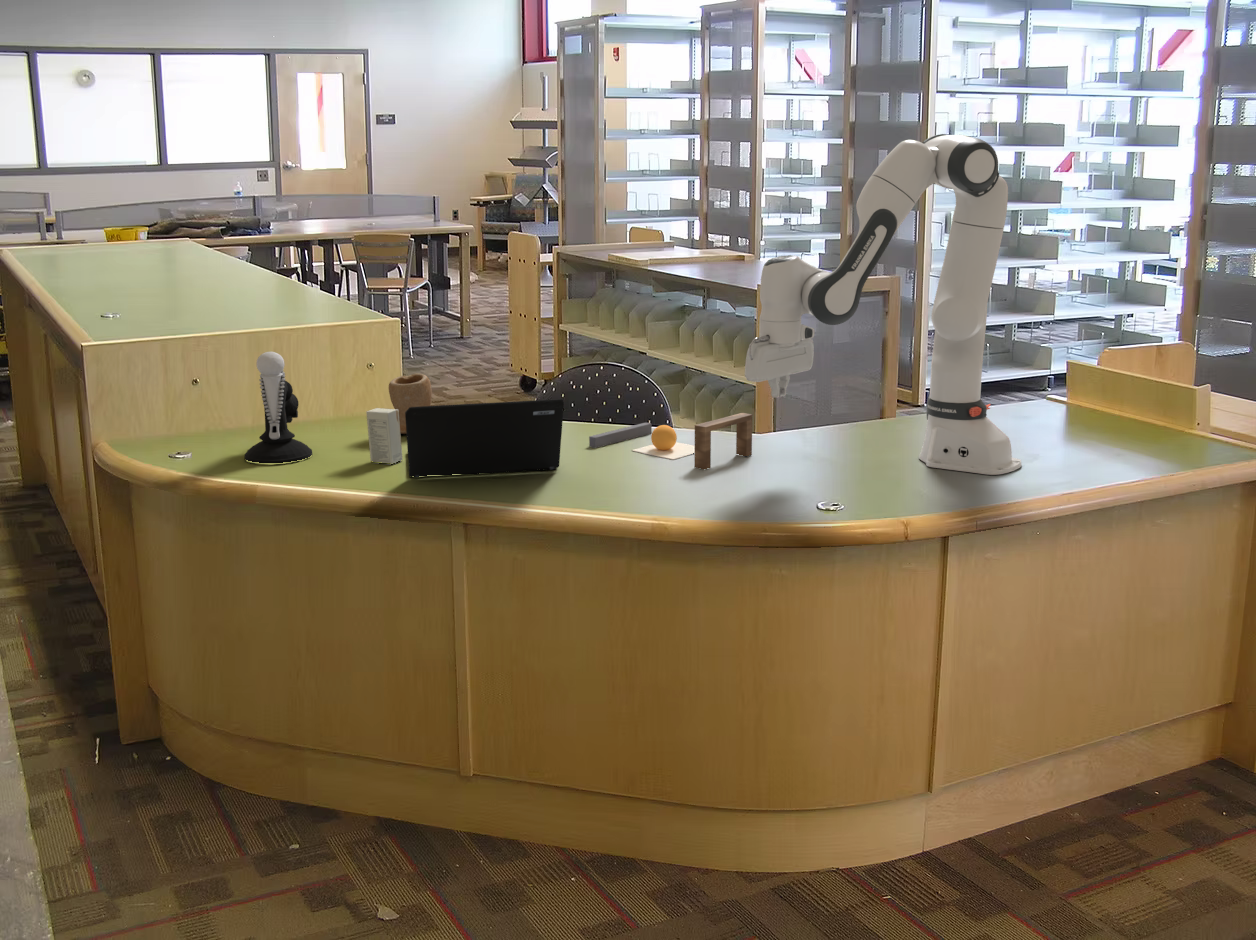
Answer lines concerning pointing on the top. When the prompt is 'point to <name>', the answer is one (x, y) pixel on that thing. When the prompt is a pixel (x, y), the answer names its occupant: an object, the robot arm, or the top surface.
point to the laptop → (484, 437)
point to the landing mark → (668, 451)
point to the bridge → (705, 428)
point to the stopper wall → (620, 435)
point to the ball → (664, 437)
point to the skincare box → (384, 435)
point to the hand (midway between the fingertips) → (778, 396)
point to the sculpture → (277, 415)
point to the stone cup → (409, 394)
